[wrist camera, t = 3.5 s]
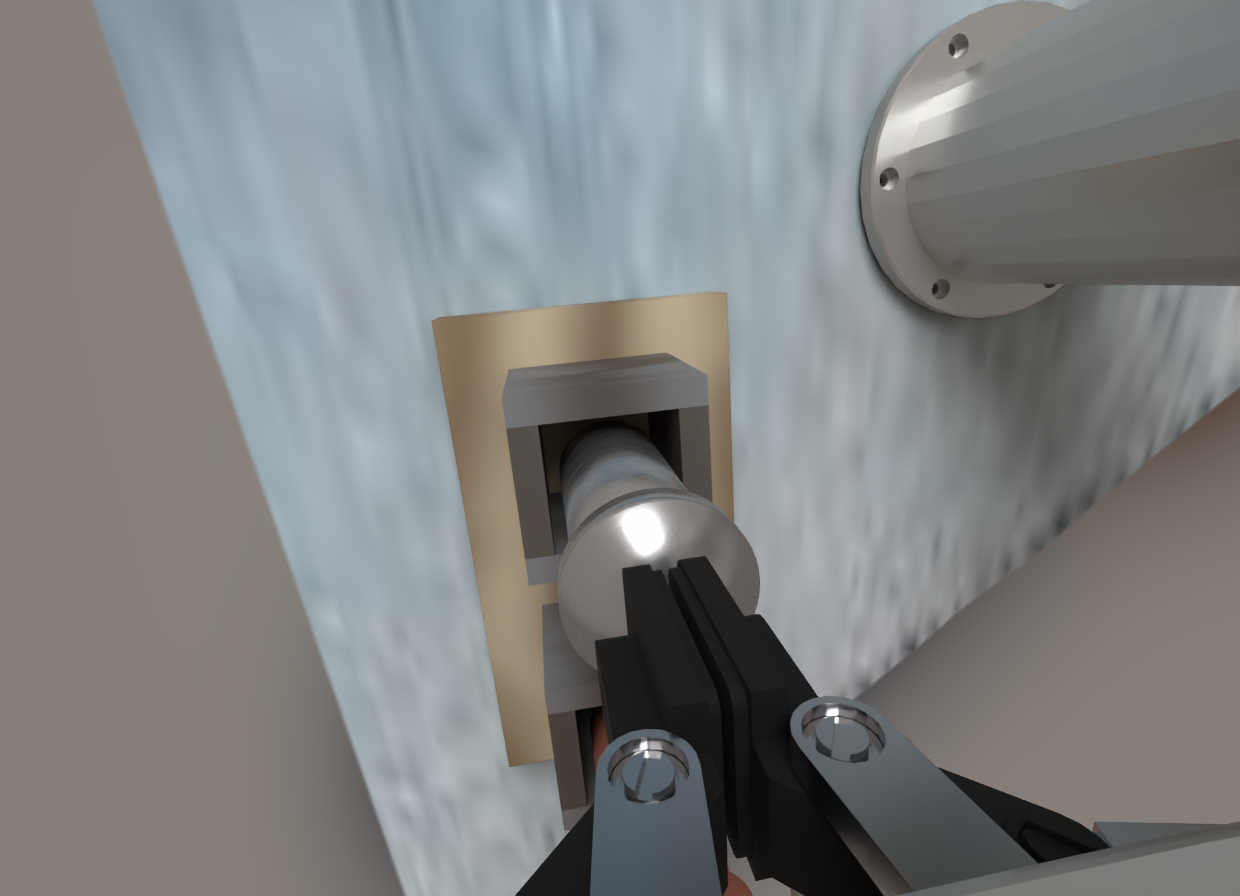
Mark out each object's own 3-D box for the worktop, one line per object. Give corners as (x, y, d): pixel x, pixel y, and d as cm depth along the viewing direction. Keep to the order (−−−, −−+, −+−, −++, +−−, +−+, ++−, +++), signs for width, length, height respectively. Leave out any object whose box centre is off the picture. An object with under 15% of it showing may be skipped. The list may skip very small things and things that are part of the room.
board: (712, 291, 26) (787, 297, 19) (727, 699, 33) (787, 827, 25) (439, 317, 25) (398, 334, 17) (510, 737, 31) (503, 885, 24)
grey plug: (666, 402, 21) (758, 487, 12) (673, 517, 22) (761, 666, 13) (540, 417, 20) (546, 516, 12) (555, 533, 21) (570, 699, 13)
